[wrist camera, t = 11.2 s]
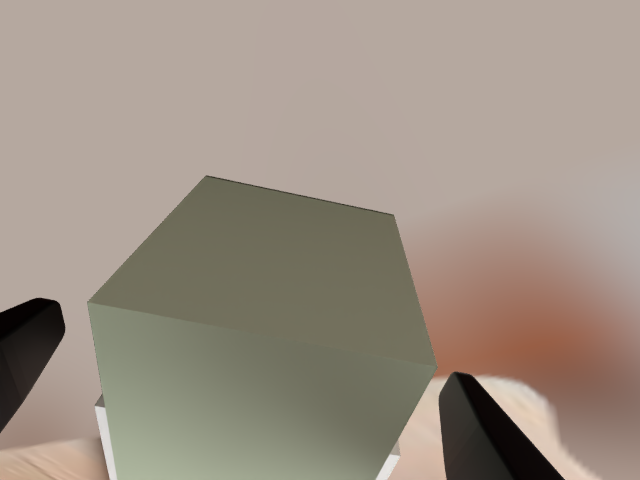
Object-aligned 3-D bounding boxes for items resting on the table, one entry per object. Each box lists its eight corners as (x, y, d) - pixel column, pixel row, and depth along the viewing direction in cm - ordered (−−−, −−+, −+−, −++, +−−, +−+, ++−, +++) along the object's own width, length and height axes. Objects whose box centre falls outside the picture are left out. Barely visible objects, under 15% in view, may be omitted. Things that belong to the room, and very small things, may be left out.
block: (200, 317, 12) (117, 483, 7) (206, 175, 9) (87, 302, 5) (348, 345, 12) (352, 520, 8) (393, 214, 9) (437, 366, 5)
